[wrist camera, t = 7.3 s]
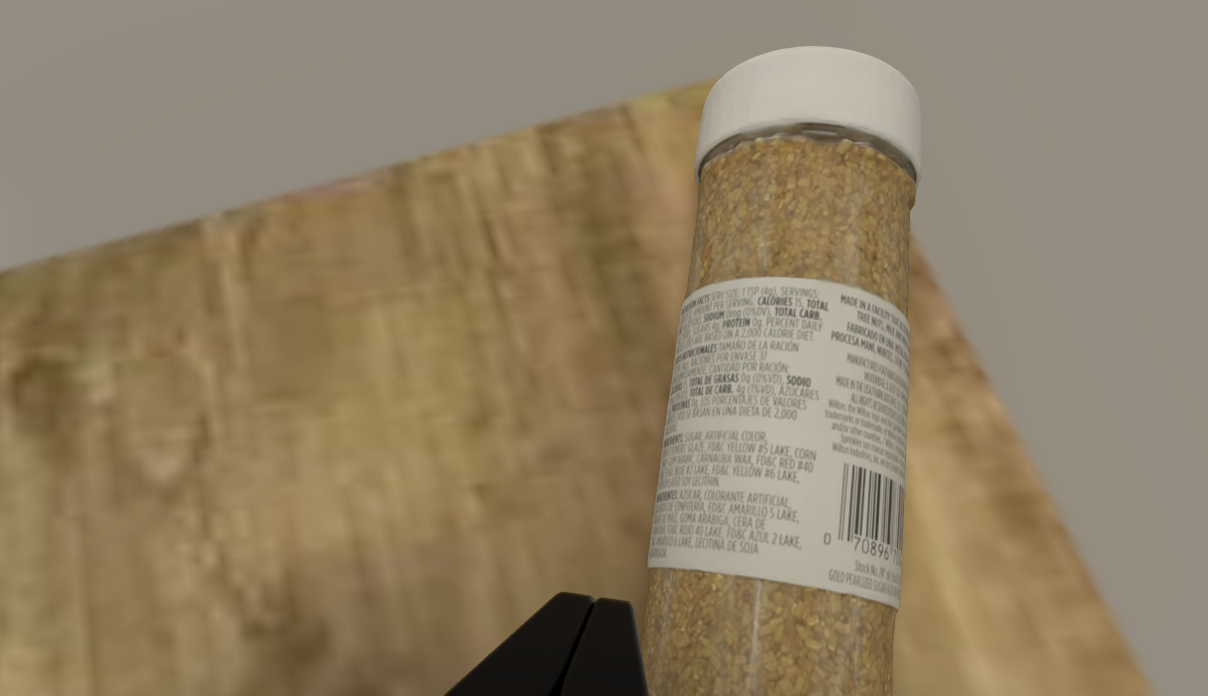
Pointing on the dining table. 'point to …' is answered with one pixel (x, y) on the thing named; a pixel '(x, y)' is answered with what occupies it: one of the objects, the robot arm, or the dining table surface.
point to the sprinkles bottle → (789, 388)
